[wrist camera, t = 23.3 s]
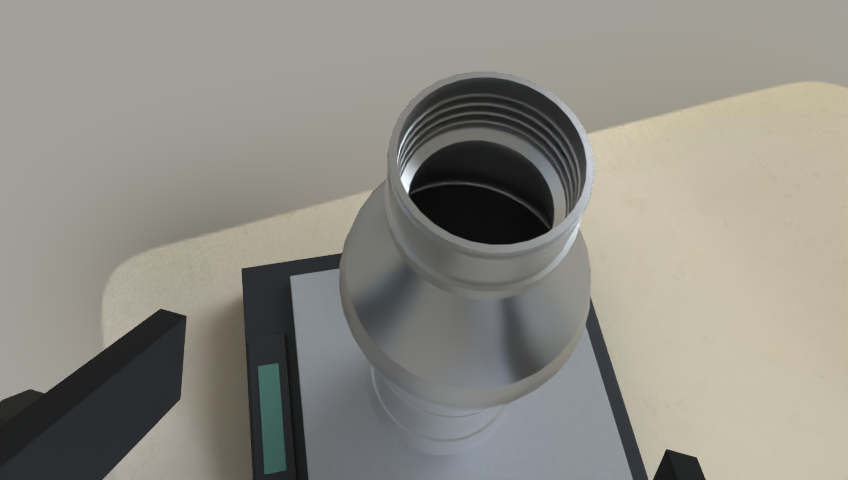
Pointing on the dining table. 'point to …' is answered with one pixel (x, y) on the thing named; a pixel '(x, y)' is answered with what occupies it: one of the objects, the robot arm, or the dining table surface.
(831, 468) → the dining table surface
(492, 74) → the silver aluminium bottle
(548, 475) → the scale
